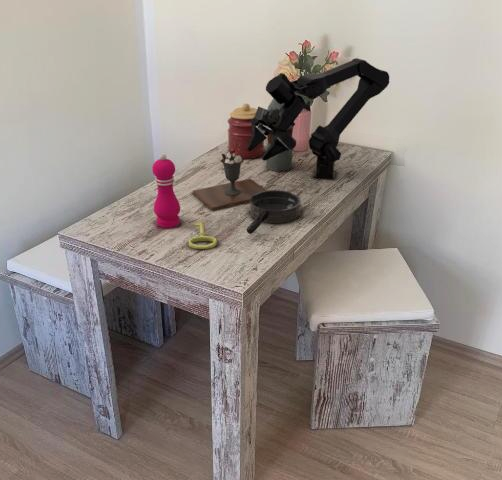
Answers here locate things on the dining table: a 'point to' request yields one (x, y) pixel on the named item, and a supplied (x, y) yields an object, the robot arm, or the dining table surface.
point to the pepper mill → (165, 193)
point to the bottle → (285, 158)
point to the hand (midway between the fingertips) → (255, 155)
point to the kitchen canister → (243, 132)
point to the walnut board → (219, 199)
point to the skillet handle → (257, 222)
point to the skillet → (275, 206)
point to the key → (202, 238)
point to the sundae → (232, 169)
